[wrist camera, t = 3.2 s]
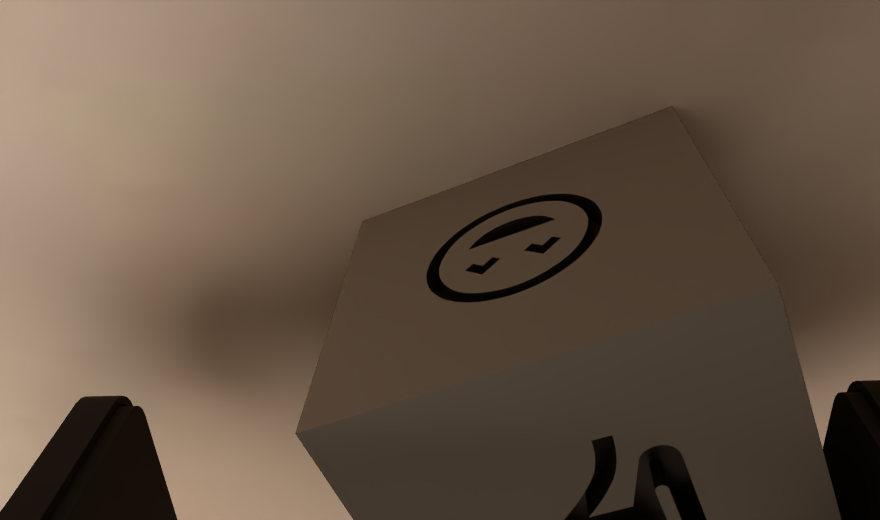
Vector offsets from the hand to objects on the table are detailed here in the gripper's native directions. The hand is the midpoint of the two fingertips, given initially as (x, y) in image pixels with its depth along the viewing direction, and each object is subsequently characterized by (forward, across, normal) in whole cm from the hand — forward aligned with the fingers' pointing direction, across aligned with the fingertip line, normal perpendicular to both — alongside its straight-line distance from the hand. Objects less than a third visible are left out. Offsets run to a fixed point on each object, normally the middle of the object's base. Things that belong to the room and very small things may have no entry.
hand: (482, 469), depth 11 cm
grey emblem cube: (+3, -1, -1) cm, 4 cm away
